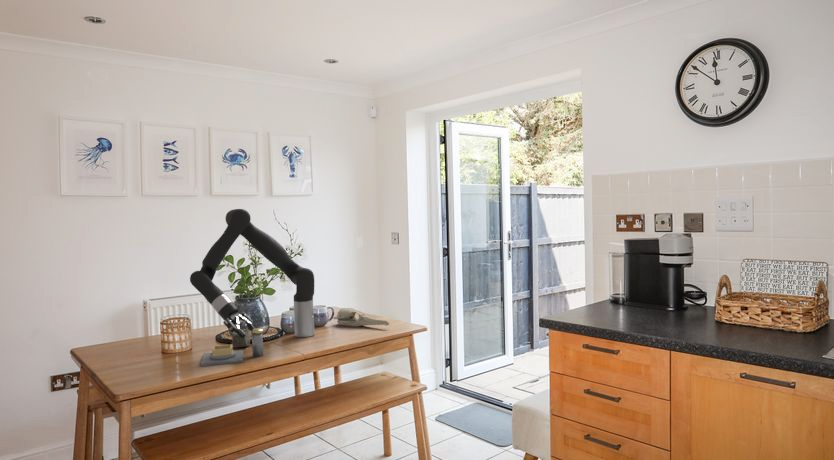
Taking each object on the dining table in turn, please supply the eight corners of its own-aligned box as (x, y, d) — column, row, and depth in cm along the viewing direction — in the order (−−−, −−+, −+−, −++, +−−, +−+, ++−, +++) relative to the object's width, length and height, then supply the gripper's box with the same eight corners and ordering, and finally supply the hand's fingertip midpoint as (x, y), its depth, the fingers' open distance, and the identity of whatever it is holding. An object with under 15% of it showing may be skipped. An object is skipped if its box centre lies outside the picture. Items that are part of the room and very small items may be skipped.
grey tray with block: (243, 352, 235) (243, 340, 234) (242, 362, 219) (242, 350, 219) (204, 355, 230) (203, 344, 230) (200, 366, 215) (200, 354, 214)
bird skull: (386, 326, 269) (383, 306, 269) (334, 328, 284) (332, 310, 284) (394, 323, 276) (392, 303, 277) (343, 325, 292) (341, 307, 292)
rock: (227, 332, 254) (248, 324, 257) (231, 345, 254) (252, 337, 258) (230, 339, 238) (252, 330, 242) (235, 353, 239) (257, 344, 243)
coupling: (264, 353, 232) (263, 327, 231) (264, 356, 227) (263, 330, 226) (251, 354, 230) (250, 328, 230) (251, 357, 225) (250, 331, 225)
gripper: (220, 304, 224) (246, 332, 221) (239, 298, 237) (263, 324, 235) (209, 316, 225) (235, 344, 223) (229, 310, 239) (253, 336, 237)
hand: (249, 334), depth 229 cm, fingers open, 8 cm apart
